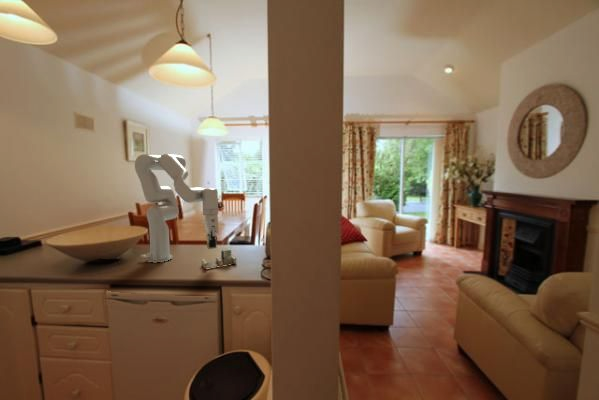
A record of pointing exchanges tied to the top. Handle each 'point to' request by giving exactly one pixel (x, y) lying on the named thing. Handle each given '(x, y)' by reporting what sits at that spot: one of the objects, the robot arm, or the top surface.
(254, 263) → the top surface
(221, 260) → the rail board
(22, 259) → the top surface
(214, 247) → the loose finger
